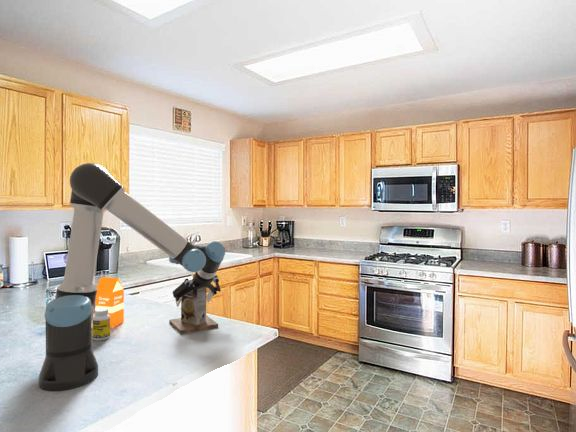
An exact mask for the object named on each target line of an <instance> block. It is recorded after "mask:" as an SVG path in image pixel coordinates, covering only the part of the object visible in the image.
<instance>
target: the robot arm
mask: <svg viewBox="0 0 576 432" xmlns="http://www.w3.org/2000/svg"><path fill="white" fill-rule="evenodd" d="M69 185H70V188H71V193H70V201H69V205H70V206H71V207H72V209H73V216H72V222H71V228H70V229H71V230H70V236H69V241H68V242H69V244H68V250H67V257H66V263H65V268H64V269H65V270H64V275H63V276H64V277H63V282H61V283H60V284H59V285H58V286H57V288H56V294H55V298H54V299H52V300H50V301H49V302H48V303H47V304H46V306H45V310H44V311H45V312H44V319H45V357H44V360H43V363H42V366H41V369H40V371H39V375H38V387H39V388H40V389H42V390H45V391H50V392H51V391H65V390H71V389H74V388H77V387H80V386H83V385H86V384H89V383H90V382H91V381H93V380H94V379H96V377H97V376H98V375H99V364H98V362H97V359H96V357H95V353H94V352H93V349H92V346H93V345H92V340H93V339H92V319H93V317H94V312H95V308H96V304H95V302H96V295H97V285H95V283H94V284H93V281H94V282H95V275H96V273H95V272H96V267H97V259H98V252H99V246H100V239H101V232H102V226H103V221H104V220H103V219H104V213H105V212H107V211H108V213H110V214H112V215H113V216H114V217H116V218H117V219H118V220H120V221H121V222H123V224H125V225H127V226H128V227H130V228H131V229H132V230H134V231H135V232H136V233H137V234H138V235H141V236H142V238H144V239H146V240H147V241H148V242H150V243H151V244H153V245H154V246H155V247H157V249H159V250H161V252H163V253H165V255H167V256H168V261H169V262H170V263H171V264H175V265H180V266H182V268H184V269H185V270H186V271H188V272H191V273H194V276H193V278H192V279H189V278H185V279H184V281H183V282H182V283H181V284H180V285H178V286H177V287H176V288H175V289H174V290H172V296H173V298H174V299H175V304H176V307H179V306H180V305H181V300H182V296H183V295H185V294H187V293H188V292H190V291H191V290H195V289H197V288H200V287H207V289H209V290H208V292H207V293H206V302H207V303H210V301H211V299H212V297H214V296H215V295H217V294H218V293H219V292H221V291H222V290H221V286H220V284H219V282H220V279H219V277H218V275H217V271H219V268H220V266H221V264H222V262H223V260H224V259H225V258H224V257H225V255H226V248H225V246H224V245H223V244H222V243H221V242H219V241H211V242H208V243H207V245H197V244H192V243H191V242H190V241H188V240H187V239H186V238H185V237H183V236H182V235H181V234H180V233H179V232H177V231H176V230H174V229H173V228H172V227H171V226H169V225H168V224H167V223H165V222H164V221H163V220H162V219H160V218H159V217H158V216H157V215H155V213H152V212H151V211H150V210H149V209H147V207H145V206H144V205H142V204H141V203H140V202H138V201H137V199H135V198H133V197H132V196H131V195H129V194H128V193H127V192H126V191H125V186H123V184H121V183H120V182H119V181H117V180H116V179H115V178H114V177H113V175H112V174H110V171H108V170H107V168H105V167H104V166H102V165H100V164H97V163H94V162H93V163H90V162H87V163H83V164H80V165H78V166H77V167H75V168H74V169H73V171H72V172H71V174H70V177H69ZM212 283H214V284H215V285H213V284H212ZM193 285H194V286H195V287H194V286H193Z"/></svg>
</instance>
